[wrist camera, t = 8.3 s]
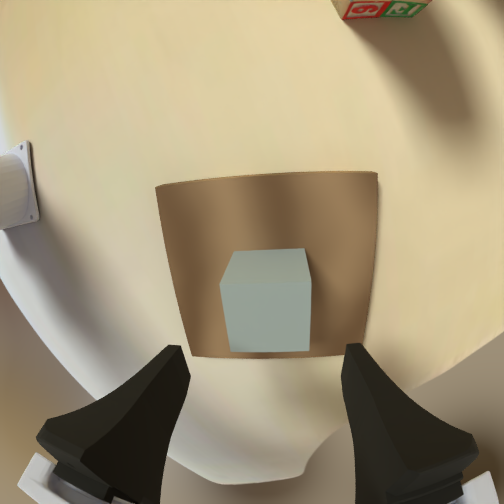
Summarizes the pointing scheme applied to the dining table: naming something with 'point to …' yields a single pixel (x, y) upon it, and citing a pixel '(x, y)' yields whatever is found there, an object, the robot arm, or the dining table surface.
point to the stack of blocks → (378, 8)
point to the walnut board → (270, 238)
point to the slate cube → (267, 300)
